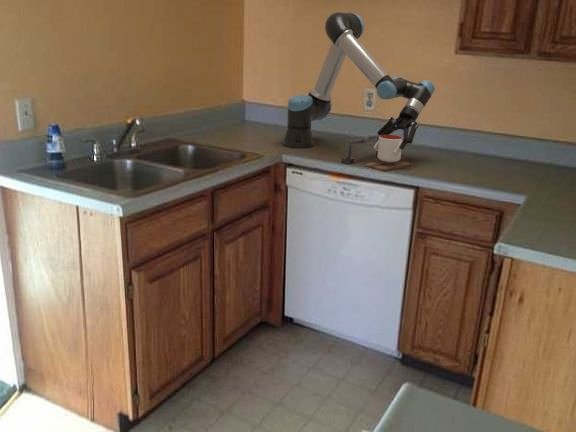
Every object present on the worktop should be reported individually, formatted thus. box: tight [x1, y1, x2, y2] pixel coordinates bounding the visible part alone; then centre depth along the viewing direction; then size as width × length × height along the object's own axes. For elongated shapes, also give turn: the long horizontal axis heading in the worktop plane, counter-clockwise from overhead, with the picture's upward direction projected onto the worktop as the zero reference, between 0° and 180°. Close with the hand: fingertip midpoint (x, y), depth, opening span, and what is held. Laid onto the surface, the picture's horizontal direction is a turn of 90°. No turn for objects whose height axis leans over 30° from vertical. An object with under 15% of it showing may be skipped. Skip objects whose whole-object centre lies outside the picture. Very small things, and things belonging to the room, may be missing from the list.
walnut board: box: [364, 160, 412, 172], centre depth 236 cm, size 11×18×1 cm, turn 132°
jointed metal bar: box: [341, 134, 379, 165], centre depth 244 cm, size 5×28×10 cm, turn 132°
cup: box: [376, 134, 403, 162], centre depth 233 cm, size 10×10×10 cm
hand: (385, 151), depth 232 cm, fingers closed on cup, 10 cm apart
